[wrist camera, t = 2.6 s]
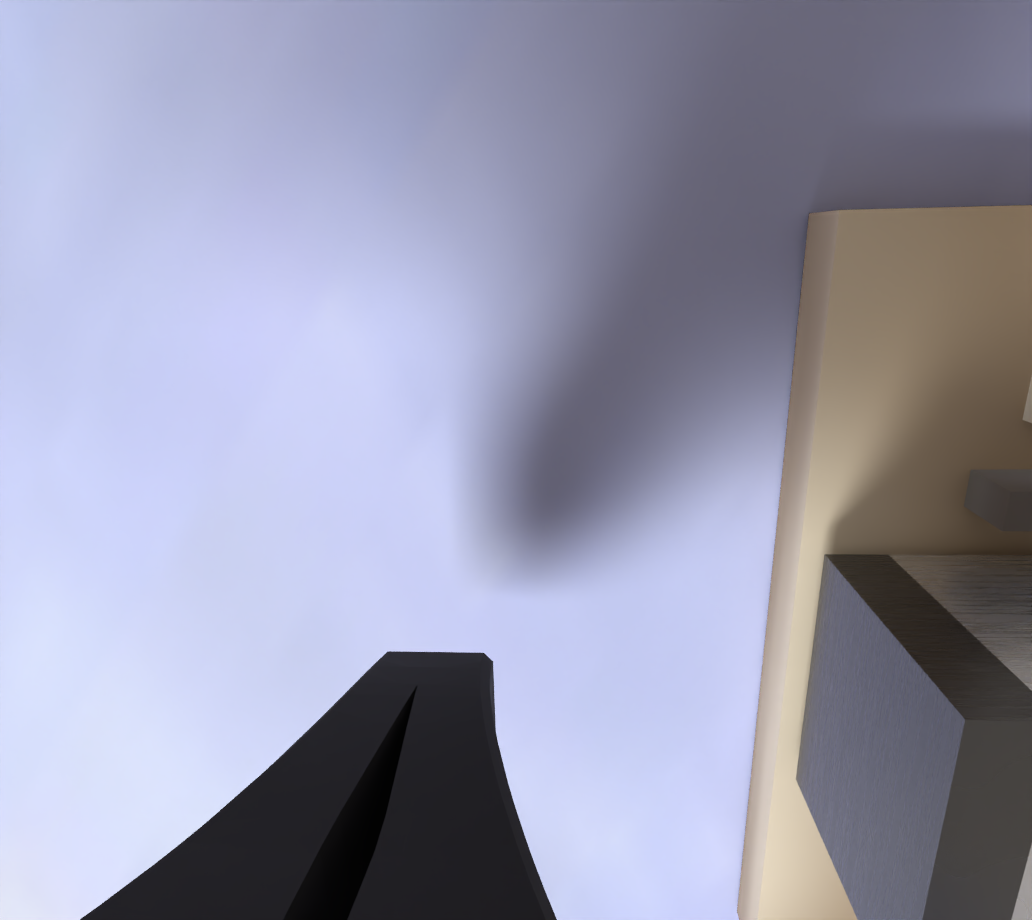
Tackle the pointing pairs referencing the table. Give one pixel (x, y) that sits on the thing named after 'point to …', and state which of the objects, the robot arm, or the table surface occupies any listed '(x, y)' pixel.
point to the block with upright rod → (923, 734)
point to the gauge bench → (885, 466)
